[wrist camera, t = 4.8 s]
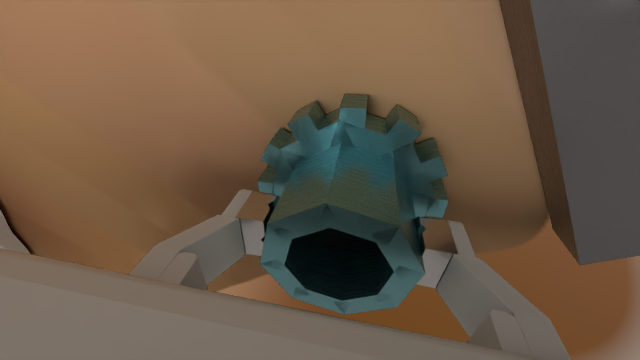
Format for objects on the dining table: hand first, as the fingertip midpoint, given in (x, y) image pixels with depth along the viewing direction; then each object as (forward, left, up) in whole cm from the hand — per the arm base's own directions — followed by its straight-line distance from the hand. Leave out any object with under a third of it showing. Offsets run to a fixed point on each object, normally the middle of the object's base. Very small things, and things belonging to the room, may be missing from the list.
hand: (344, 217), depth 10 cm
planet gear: (0, 0, -3) cm, 3 cm away
